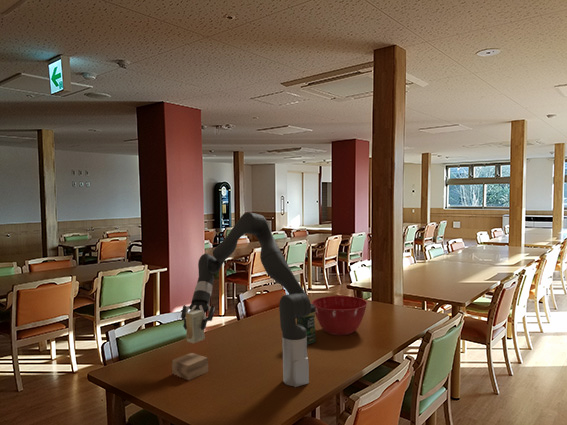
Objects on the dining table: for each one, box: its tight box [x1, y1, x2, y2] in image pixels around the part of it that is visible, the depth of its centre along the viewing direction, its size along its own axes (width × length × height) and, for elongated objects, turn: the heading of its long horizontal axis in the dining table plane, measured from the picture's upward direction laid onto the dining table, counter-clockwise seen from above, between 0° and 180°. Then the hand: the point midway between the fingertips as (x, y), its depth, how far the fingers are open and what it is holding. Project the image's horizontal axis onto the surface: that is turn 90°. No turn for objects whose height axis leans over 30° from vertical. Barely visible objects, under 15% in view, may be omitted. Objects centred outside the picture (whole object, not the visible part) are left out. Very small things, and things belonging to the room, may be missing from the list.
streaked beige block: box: [171, 352, 209, 381], centre depth 170 cm, size 10×10×6 cm
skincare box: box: [185, 310, 206, 344], centre depth 176 cm, size 6×4×12 cm
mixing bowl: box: [311, 295, 368, 336], centre depth 219 cm, size 28×28×16 cm
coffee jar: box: [296, 303, 317, 346], centre depth 202 cm, size 10×8×19 cm
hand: (193, 328), depth 174 cm, fingers closed on skincare box, 6 cm apart
